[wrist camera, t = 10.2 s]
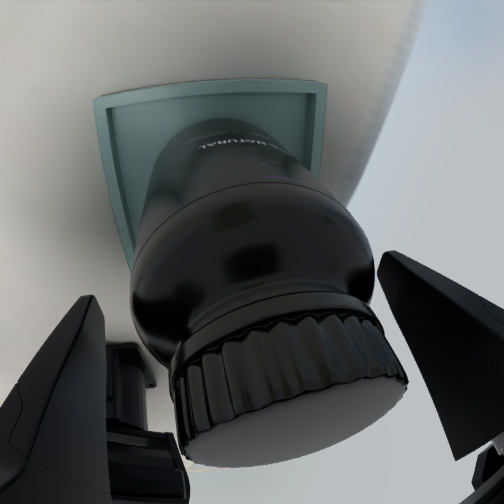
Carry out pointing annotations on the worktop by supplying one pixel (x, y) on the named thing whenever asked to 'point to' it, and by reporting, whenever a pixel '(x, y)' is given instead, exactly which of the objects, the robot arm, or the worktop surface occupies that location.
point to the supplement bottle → (257, 301)
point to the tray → (192, 112)
